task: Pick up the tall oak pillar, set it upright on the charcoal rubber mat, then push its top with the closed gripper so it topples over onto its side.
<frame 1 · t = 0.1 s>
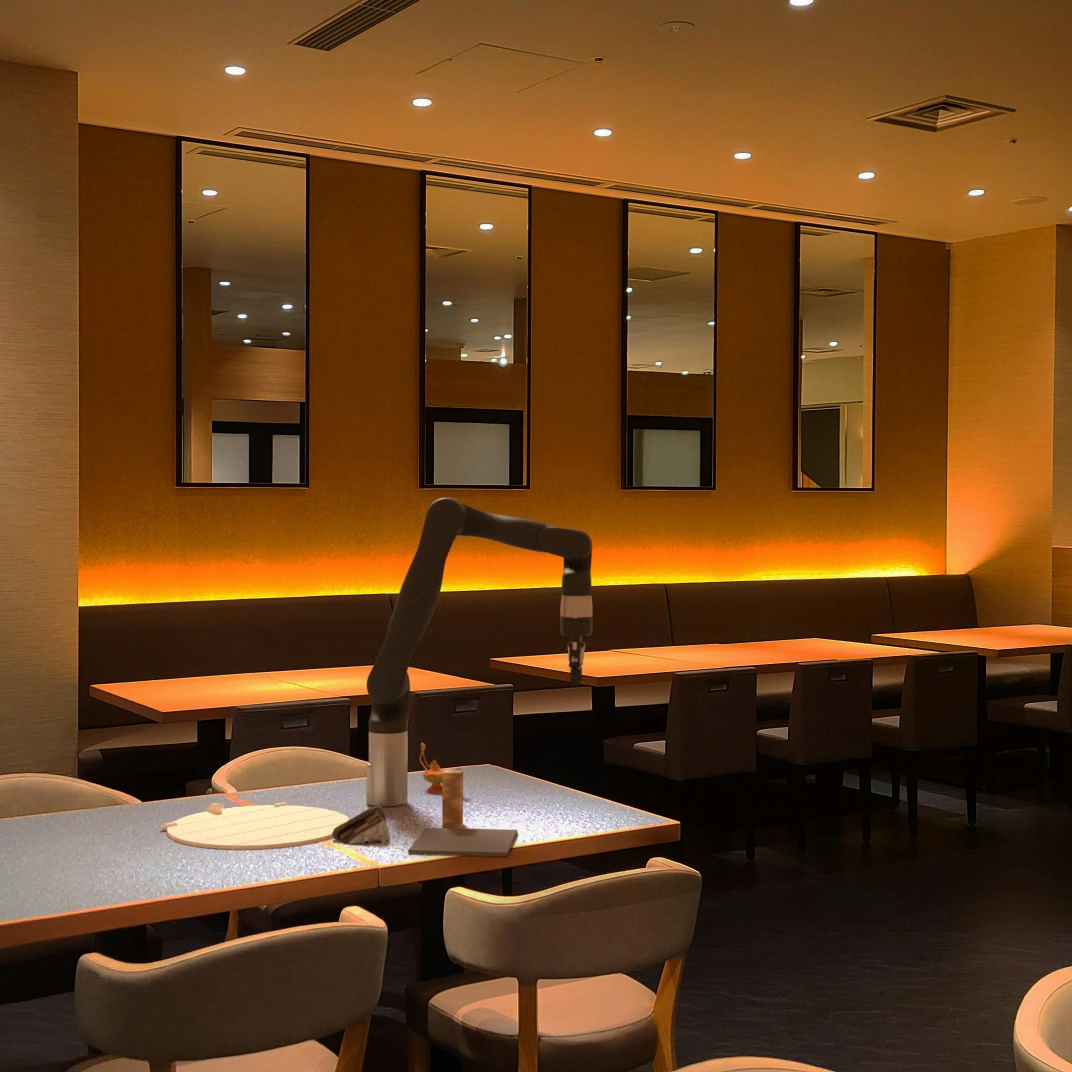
hand: (576, 683, 308), 29 cm above the table, fingers open, 8 cm apart
charcoal mat: (464, 843, 272), on the table
lazy susan: (258, 829, 287), on the table
chocolate cake: (364, 842, 275), on the table
oak pillar: (452, 825, 289), on the table
magic lamp: (440, 791, 328), on the table
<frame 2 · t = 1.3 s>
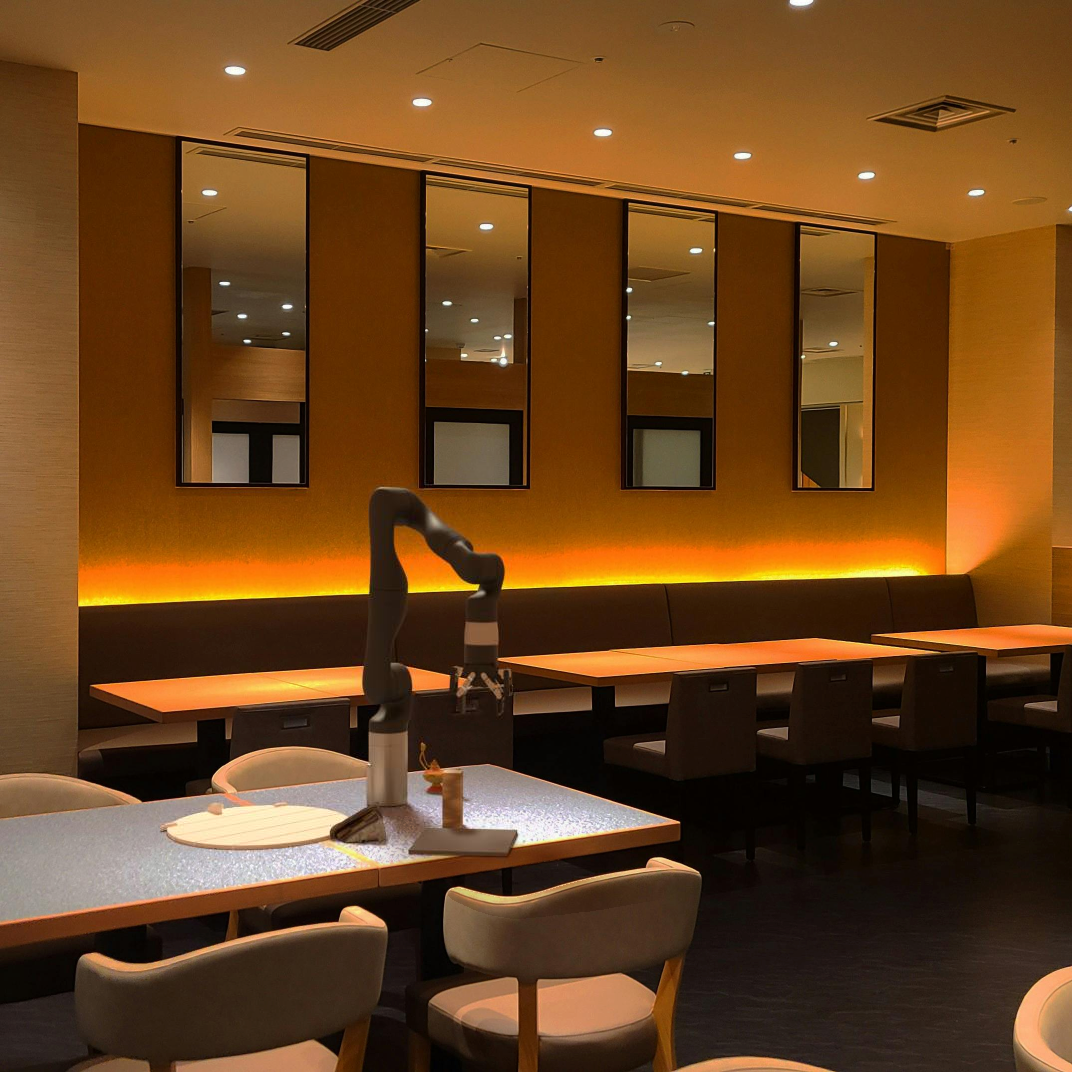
hand: (480, 714, 293), 24 cm above the table, fingers open, 8 cm apart
chocolate cake: (361, 841, 276), on the table
everything else where it was.
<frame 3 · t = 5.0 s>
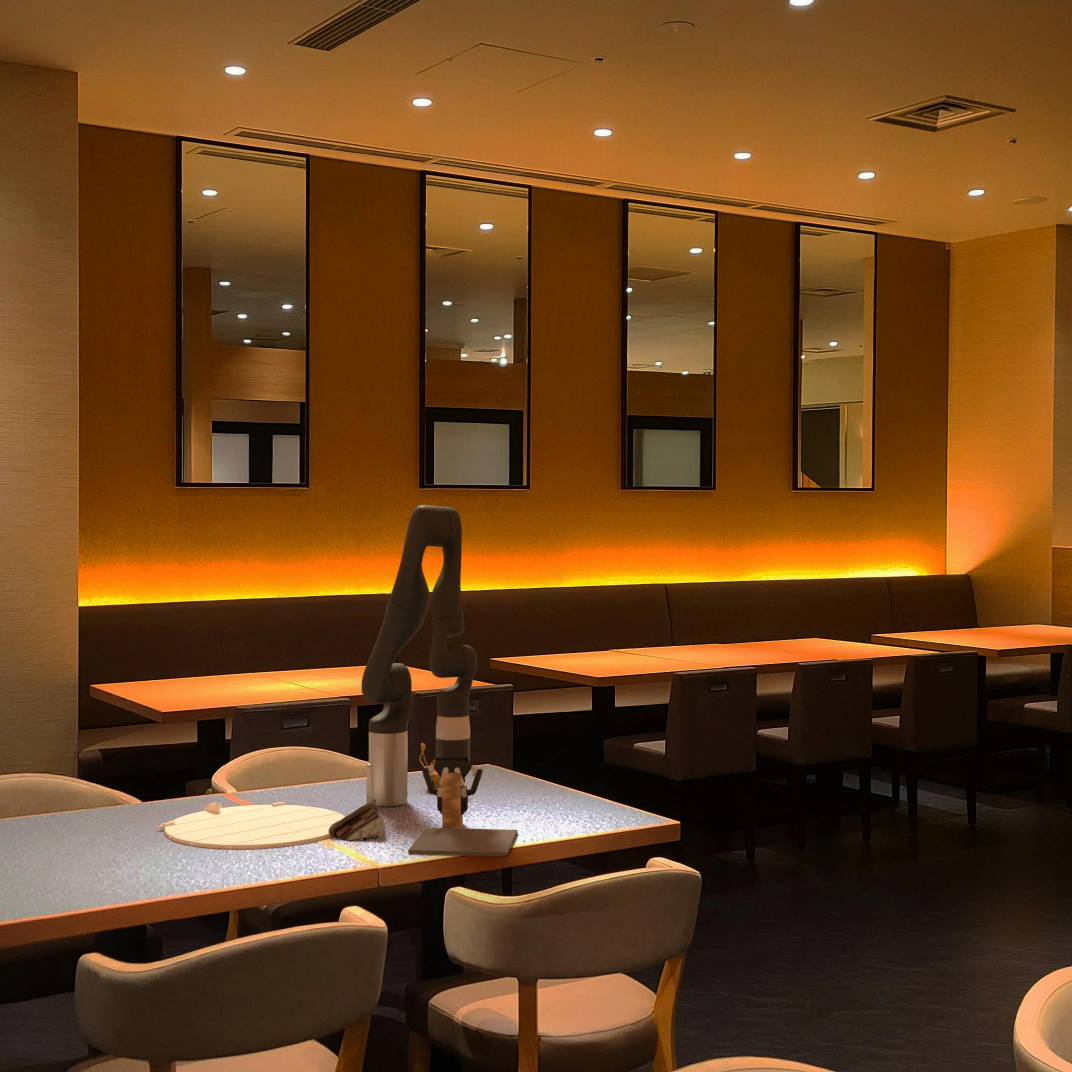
hand: (452, 813, 289), 3 cm above the table, fingers closed on oak pillar, 4 cm apart
chocolate cake: (360, 838, 278), on the table
oak pillar: (452, 825, 289), on the table, touching gripper
when the fingers open (5 cm above the table, at t = 11.1 s): oak pillar drops 1 cm, resting on charcoal mat.
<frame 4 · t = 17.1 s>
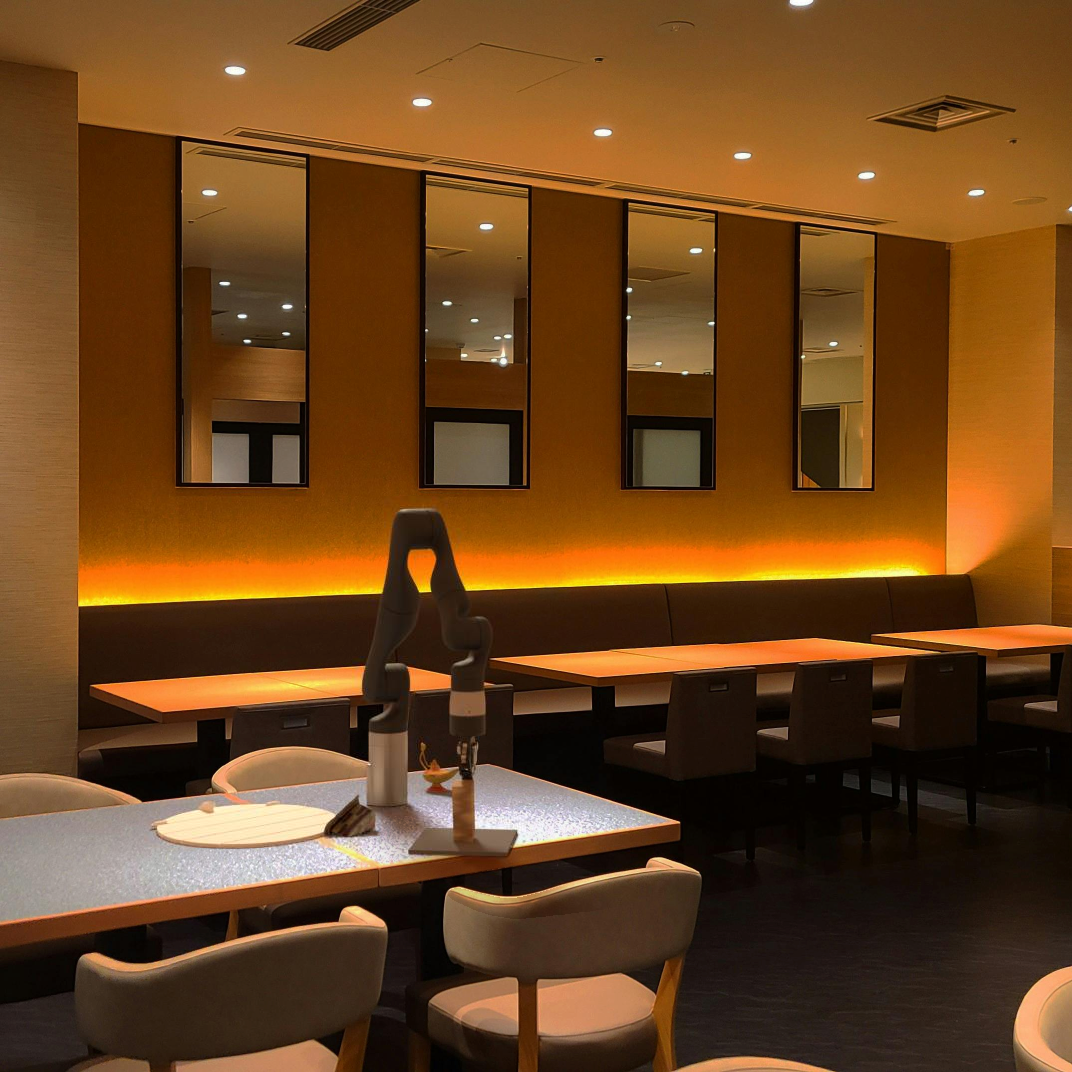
hand: (467, 794, 275), 10 cm above the table, fingers closed
lazy susan: (248, 828, 288), on the table
chocolate cake: (353, 834, 282), on the table
oak pillar: (464, 837, 272), point 1 cm above the table, tilted 10°, touching charcoal mat, gripper
everything else where it was.
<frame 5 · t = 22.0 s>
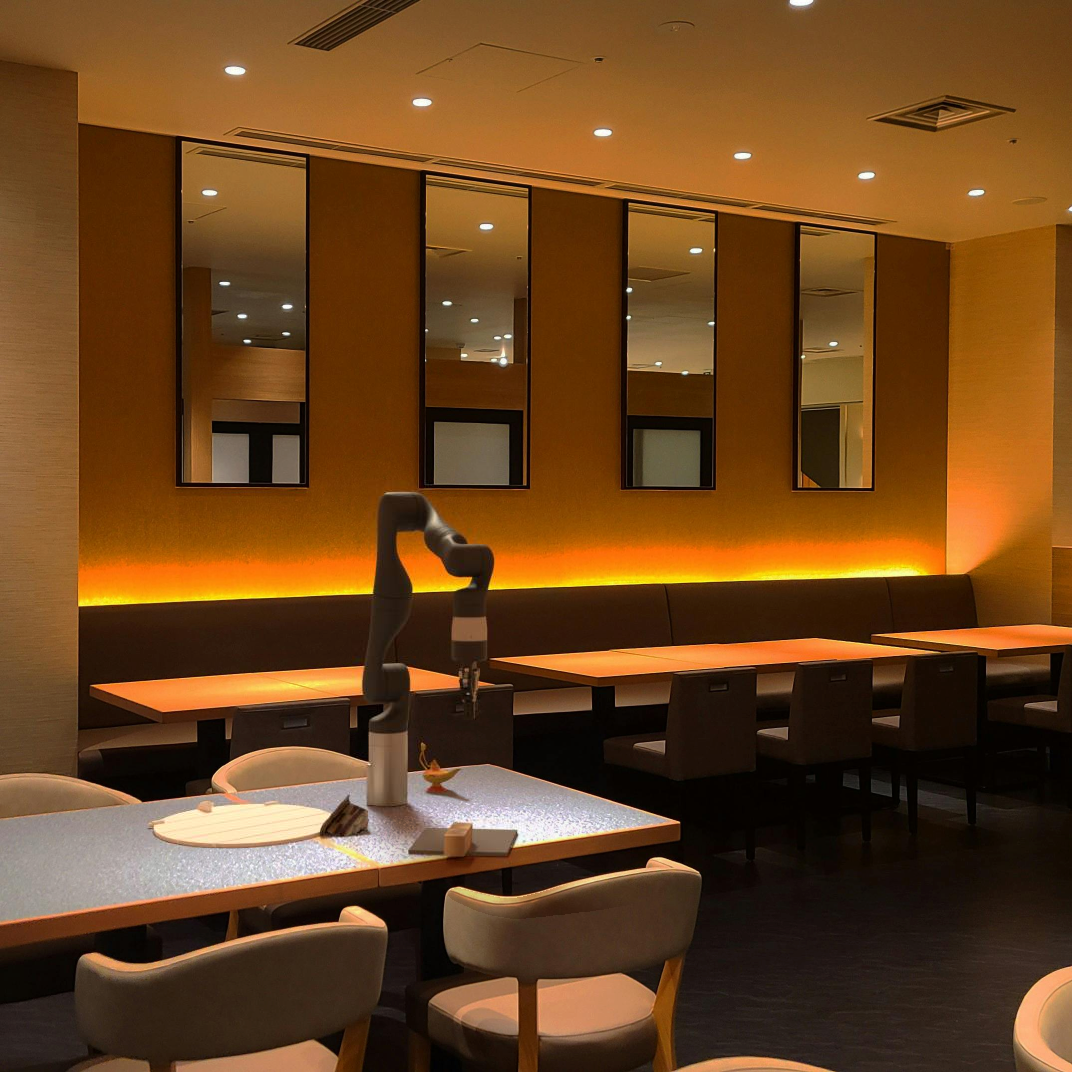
hand: (469, 719, 278), 25 cm above the table, fingers closed
chocolate cake: (347, 833, 283), on the table
oak pillar: (462, 832, 270), point 3 cm above the table, tilted 90°, touching charcoal mat
at the end: oak pillar tilted 90°; oak pillar inside the target area on the charcoal mat (1.9 cm from its centre), point 2.8 cm above the charcoal mat's base; the gripper is holding nothing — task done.
